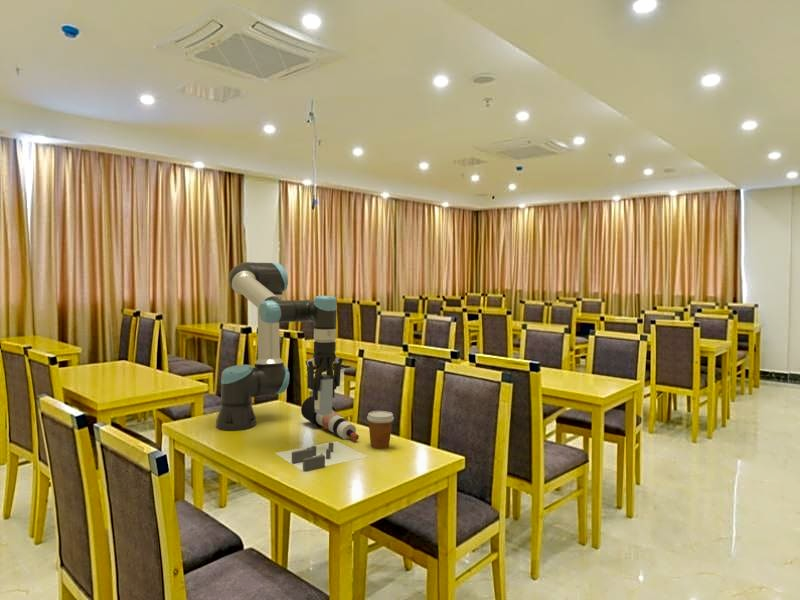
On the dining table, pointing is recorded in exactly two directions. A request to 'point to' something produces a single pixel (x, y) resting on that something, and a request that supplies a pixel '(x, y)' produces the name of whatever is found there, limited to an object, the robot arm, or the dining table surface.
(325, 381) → the block
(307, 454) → the routing panel
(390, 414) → the disposable coffee cup
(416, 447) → the dining table surface
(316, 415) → the cable
